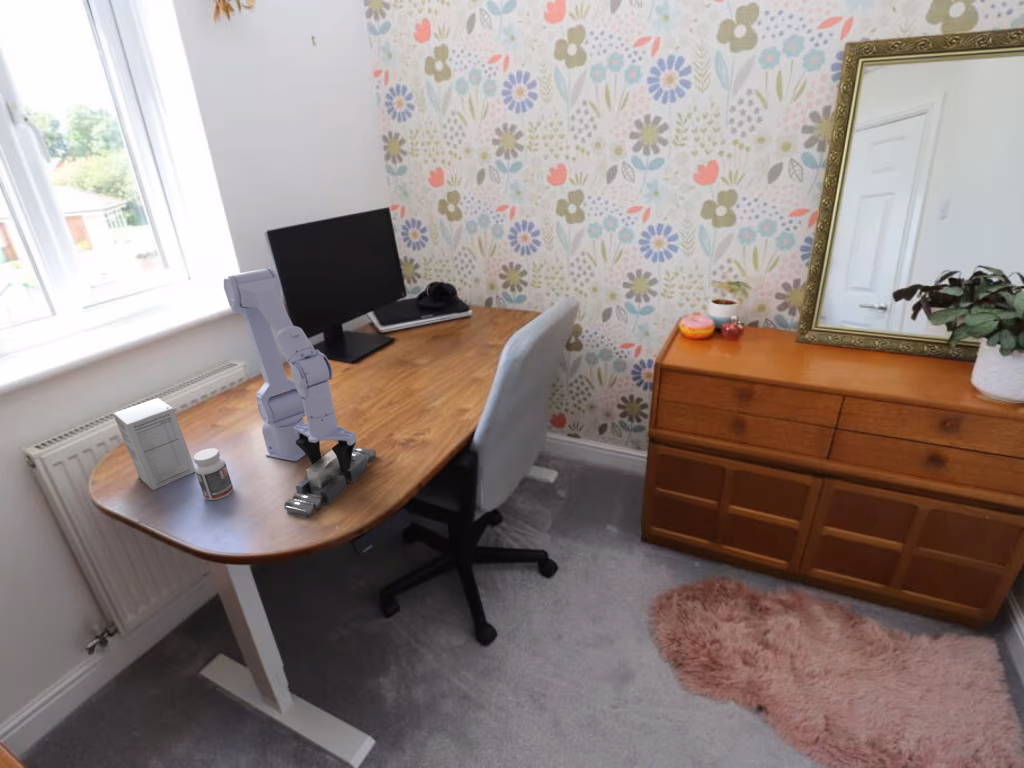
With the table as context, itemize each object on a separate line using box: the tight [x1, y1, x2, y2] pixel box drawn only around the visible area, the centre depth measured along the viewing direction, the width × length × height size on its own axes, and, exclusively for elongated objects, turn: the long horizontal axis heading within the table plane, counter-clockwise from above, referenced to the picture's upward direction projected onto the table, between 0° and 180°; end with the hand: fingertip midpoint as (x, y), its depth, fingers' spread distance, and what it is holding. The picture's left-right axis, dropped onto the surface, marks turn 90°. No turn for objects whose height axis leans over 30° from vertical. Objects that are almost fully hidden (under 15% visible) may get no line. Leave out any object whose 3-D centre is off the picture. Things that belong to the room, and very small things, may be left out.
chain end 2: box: [344, 446, 377, 484], centre depth 121 cm, size 8×11×3 cm
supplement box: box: [112, 397, 196, 491], centre depth 118 cm, size 10×9×17 cm
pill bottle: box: [193, 447, 234, 501], centre depth 112 cm, size 6×6×10 cm
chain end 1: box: [284, 475, 348, 519], centre depth 110 cm, size 8×11×3 cm
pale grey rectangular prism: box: [305, 449, 353, 494], centre depth 115 cm, size 3×11×6 cm, turn 160°
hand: (331, 467), depth 115 cm, fingers open, 7 cm apart
